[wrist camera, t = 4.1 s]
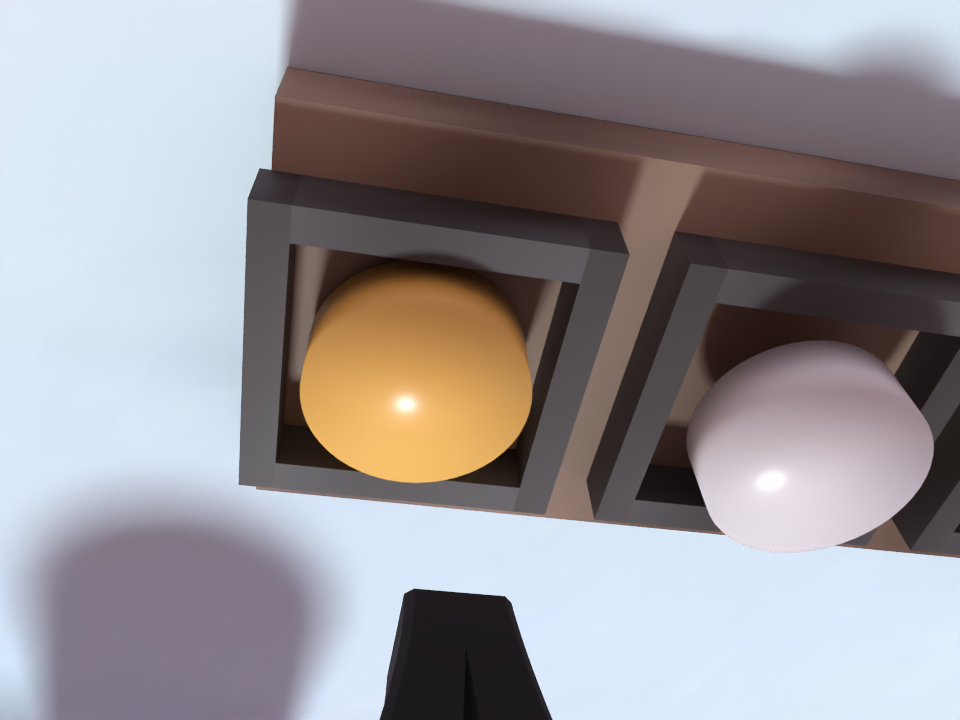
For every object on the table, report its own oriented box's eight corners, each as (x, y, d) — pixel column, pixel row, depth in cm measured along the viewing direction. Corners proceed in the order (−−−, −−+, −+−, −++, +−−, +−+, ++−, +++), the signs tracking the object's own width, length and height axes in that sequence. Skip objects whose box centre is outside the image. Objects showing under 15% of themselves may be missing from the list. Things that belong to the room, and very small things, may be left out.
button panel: (1295, 237, 18) (1413, 306, 16) (1055, 527, 23) (1119, 608, 21) (275, 65, 15) (250, 120, 13) (258, 443, 20) (237, 528, 18)
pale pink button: (939, 355, 16) (977, 402, 15) (843, 511, 19) (870, 561, 17) (729, 326, 16) (753, 373, 14) (659, 491, 18) (674, 542, 17)
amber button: (547, 276, 16) (556, 318, 15) (502, 445, 18) (506, 492, 17) (316, 244, 15) (307, 285, 14) (302, 423, 18) (293, 470, 16)
